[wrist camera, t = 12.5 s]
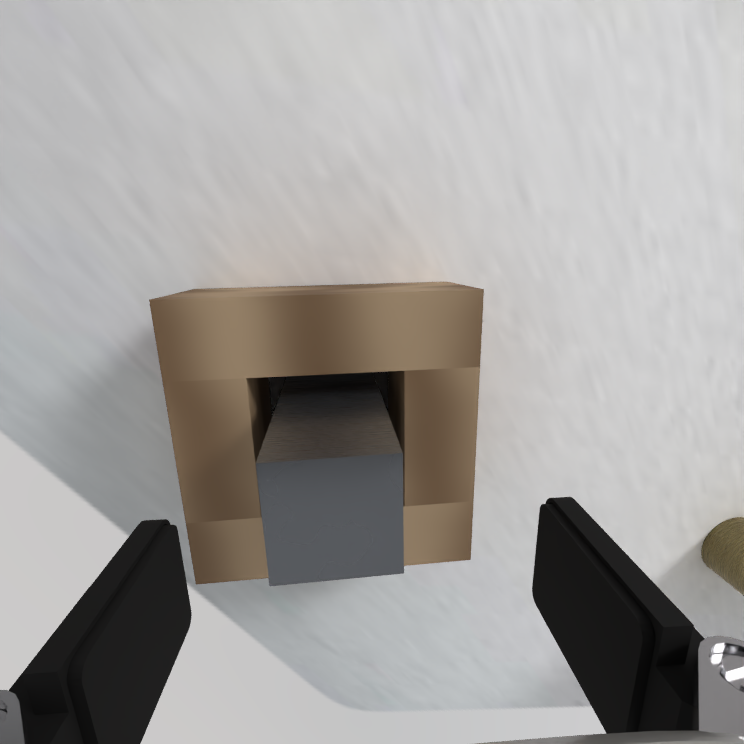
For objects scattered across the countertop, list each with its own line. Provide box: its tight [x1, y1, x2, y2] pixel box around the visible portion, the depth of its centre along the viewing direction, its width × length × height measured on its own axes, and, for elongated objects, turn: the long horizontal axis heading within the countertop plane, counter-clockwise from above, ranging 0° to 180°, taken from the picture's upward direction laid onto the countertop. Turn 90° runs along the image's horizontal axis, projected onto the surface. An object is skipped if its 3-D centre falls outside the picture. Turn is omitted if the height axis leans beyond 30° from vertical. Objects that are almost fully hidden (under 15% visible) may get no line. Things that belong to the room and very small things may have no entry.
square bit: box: [256, 372, 404, 586], centre depth 17 cm, size 4×4×10 cm
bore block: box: [149, 282, 484, 584], centre depth 19 cm, size 12×12×5 cm
